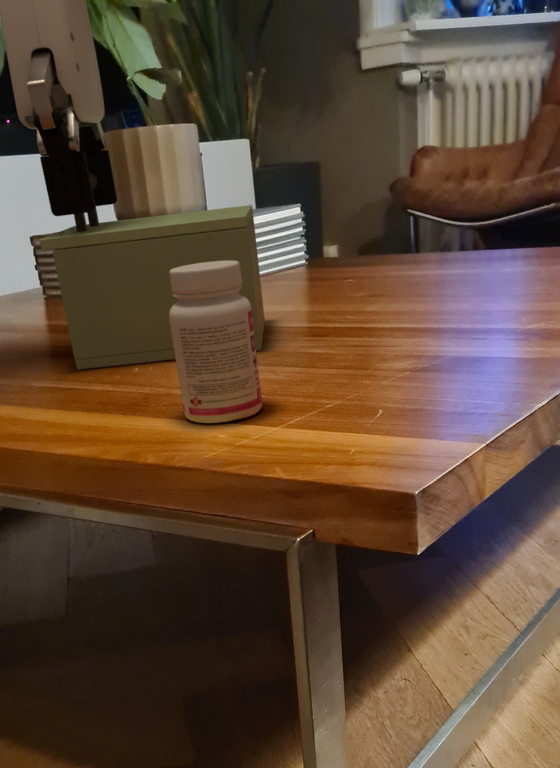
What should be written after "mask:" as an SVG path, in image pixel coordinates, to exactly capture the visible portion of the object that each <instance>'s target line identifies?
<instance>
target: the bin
mask: <svg viewBox="0 0 560 768" xmlns="http://www.w3.org/2000/svg"><path fill="white" fill-rule="evenodd" d="M254 219H255V218H254V216H252V218H251V220H250V222H249V224H248V226H247V227H245V228H236V229H228V230H219V231H210V232H202V233H193V234H184V235H176V236H167V237H158V238H150V239H141V240H132V241H124V242H115V243H107V244H98V245H89V246H81V247H72V248H63V249H55V250H51V252H52V256H53V261H54V266H55V272H56V277H57V280H58V281H57V282H58V285H59V291H60V296H61V300H62V305H63V310H64V315H65V319H66V324H67V329H68V334H69V339H70V343H71V348H72V354H73V358H74V363H75V367H76V371H80V370H82V371H83V370H88V369H100V368H109V367H117V366H126V365H138V364H147V363H155V362H163V361H165V362H166V361H173V360H175V361H176V358H175V352H174V345H173V339H172V333H171V326H170V318H169V313H170V309H171V308H172V306H173V305H174V304H176V303H177V298H175V297H173V292H172V287H171V281H170V274H169V271H170V270H171V269H173V268H177V267H180V266H185V265H191V264H196V263H204V262H213V261H238V262H239V265H240V271H241V277H242V284H241V285H242V289H240V290H239V294H240V295H241V296H244V297H246V298H247V299H248V300H249V302H250V304H251V310H252V319H253V328H254V336H255V346H256V352H257V351H261V350H262V347H263V338H264V331H265V322H266V319H265V309H264V302H263V292H262V290H263V289H262V283H261V272H260V264H259V263H260V262H259V256H258V246H257V236H256V229H255V228H256V227H255V220H254Z"/></svg>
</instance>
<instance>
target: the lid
mask: <svg viewBox="0 0 560 768" xmlns="http://www.w3.org/2000/svg"><path fill="white" fill-rule="evenodd" d="M89 176H90V181H91V187H92V192H93V191H94V190H95V188H96V187H97V178H96V176H95V175H94V174H93V173H92V172H91V171H89ZM93 197H94V193H93ZM94 202H95V199H94ZM85 214H87V219H88V223H87V220H86V215H85ZM253 215H254V210H253V205H252V204H249V205H248V204H247V205H240V206H231V207H223V208H214V209H206V210H197V211H187V212H180V213H173V214H163V215H155V216H146V217H137V218H129V219H121V220H119V219H118V220H111V221H103V222H100V221H99V217H98V216H99V215H98V210H97V206H96V204H95V209H94V211H92V212H88V213H80V214H73V217H74V222H75V223H74V224H75V225H73V226H71V227H67V228H65V229H63V230H60V231H58V232H55V233H53V234H50V235H48V236H44V237H42V238H40V239H39V240H38V241H39V245H40V249H41V251H42V252H44V251H45V252H46V251H53V250H55V249H63V248H72V247H81V246H89V245H98V244H107V243H115V242H124V241H132V240H141V239H150V238H158V237H167V236H176V235H184V234H193V233H202V232H210V231H219V230H228V229H236V228H245V227H247V226H248V224H249V222H250V220H251V218H252V216H253ZM253 217H254V216H253Z"/></svg>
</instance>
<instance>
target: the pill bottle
mask: <svg viewBox="0 0 560 768" xmlns="http://www.w3.org/2000/svg"><path fill="white" fill-rule="evenodd" d="M169 274H170V281H171V287H172V292H173V297H175V298H177V303H176V304H174V305H173V306H172V308H171V309H170V313H169V318H170V326H171V333H172V339H173V345H174V352H175V358H176V359H175V364H176V370H177V376H178V383H179V390H180V397H181V403H182V409H183V413H184V416H185V417H186V418H187V419H188V420H189V421H191V422H195V423H200V424H220V423H226V422H231V421H236V420H237V421H238V420H242V419H246V418H249V417H251V416H254V415H255V414H257V413H259V412H260V411H261V409H262V407H263V397H262V390H261V381H260V374H259V373H260V372H259V363H258V355H257V351H256V346H255V336H254V328H253V319H252V310H251V304H250V302H249V300H248V299H247V298H246V297H244V296H241V295H240V294H239V290H240V289H242V285H241V284H242V277H241V271H240V265H239V262H238V261H213V262H204V263H196V264H191V265H185V266H180V267H177V268H173V269H171V270H170V271H169Z"/></svg>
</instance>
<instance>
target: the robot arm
mask: <svg viewBox="0 0 560 768" xmlns="http://www.w3.org/2000/svg"><path fill="white" fill-rule="evenodd" d="M0 24H1V29H2V34H3V35H2V36H3V40H4V46H5V52H6V57H7V58H6V59H7V63H8V69H9V74H10V80H11V86H12V91H13V97H14V101H15V107H16V112H17V117H18V120H19V121H20V123H21V124H22V125H23V126H25V127H26V128H27V129H30V130H36V144H37V145H36V146H37V149H38V152H39V155H40V156H39V159H40V165H41V169H42V173H43V178H44V183H45V187H46V193H47V198H48V202H49V206H50V207H49V208H50V211H51V214H52V215H53V216H55V217H63V216H71V215H74V214H80V213H84V214H87V213H88V212H92V211H94V209H95V204H96V207H103V206H111V205H115V204H116V203H117V202H118V196H117V190H116V183H115V179H114V173H113V168H112V161H111V157H110V151H109V149H108V146H107V140H106V136H105V133H104V130H103V127H102V124H101V123H102V120H103V119H104V117H105V110H106V109H105V102H104V101H105V100H104V94H103V88H102V87H103V86H102V81H101V75H100V70H99V69H100V68H99V64H98V58H97V52H96V47H95V42H94V37H93V32H92V25H91V21H90V15H89V11H88V3H87V1H86V0H0ZM89 171H91V172H92V173H93V174H94V175H95V176H96V178H97V187H96V188H95V190H94V191H93V192H92V187H91V181H90V176H89ZM93 193H94V197H93ZM94 199H95V202H94Z"/></svg>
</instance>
